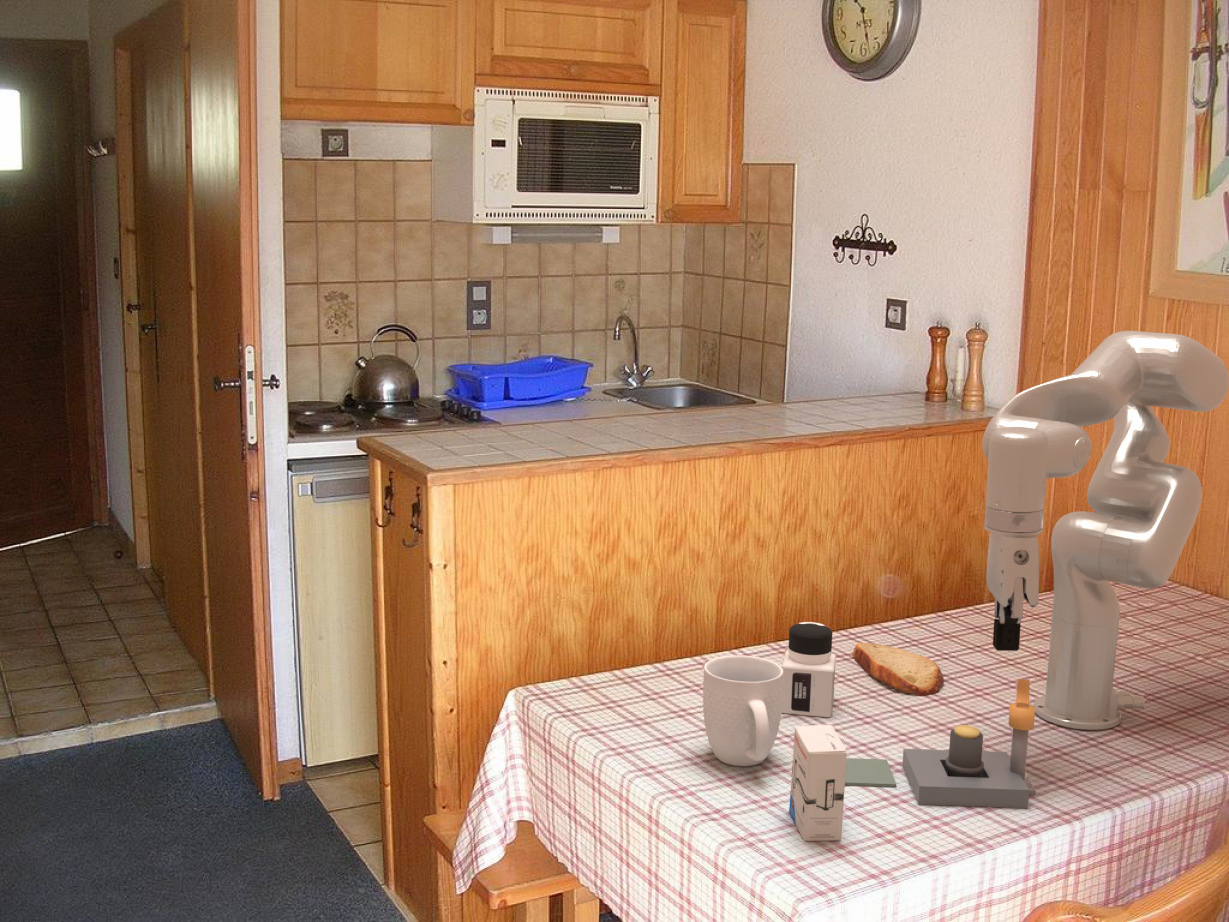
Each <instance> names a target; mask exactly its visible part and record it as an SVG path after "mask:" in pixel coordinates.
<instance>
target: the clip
mask: <svg viewBox="0 0 1229 922" xmlns="http://www.w3.org/2000/svg"><path fill="white" fill-rule="evenodd" d="M1016 683H1017V685H1016V694H1015V695H1016V699H1015V702H1011V704H1009V711H1008V726H1009V727H1010V728H1012V729H1013V728H1014V729H1018V730H1029V731H1031V730H1033V729H1034V728H1035V717H1036V713H1035V707H1034V705H1032V704H1030V688H1031V687H1030V684H1031V680H1030V679H1024V678H1017V682H1016Z"/></svg>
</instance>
